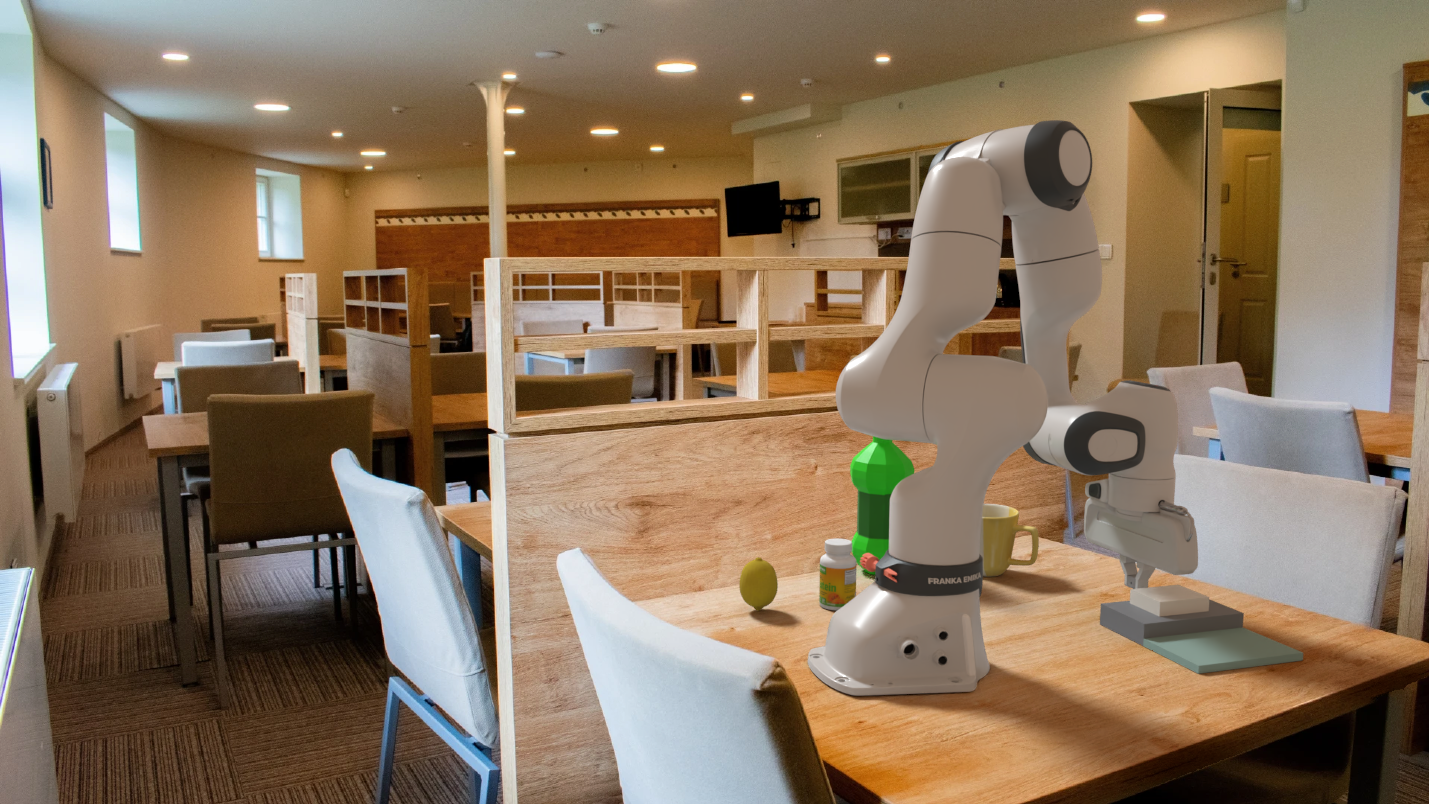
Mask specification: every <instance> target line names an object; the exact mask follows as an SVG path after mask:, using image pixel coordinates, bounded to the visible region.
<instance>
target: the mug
mask: <svg viewBox="0 0 1429 804" xmlns="http://www.w3.org/2000/svg"><path fill="white" fill-rule="evenodd" d="M1019 517H1020V511H1019V510H1018V509H1016V508H1014V507H1011V506H1007V505H1005V504H1004V505H1003V504H997V503H984V504H983V512H982V521H981V533H980V555H981V556H982V558H983V577H997V576H998V577H999V576H1001V575H1003V574H1004V573H1005V572H1006V571H1007V570H1008V568H1009V567H1010V566H1025V567H1026V566H1032V565H1034V564H1035V563H1036V561H1037V559H1038V553H1039V548H1040V547H1039V543H1040V542H1039V539H1040V538H1039V531H1038V529H1037V527H1035V526H1029V525H1023V524H1022V525H1021V524H1018V523H1019V519H1020V518H1019ZM1019 532H1026V533H1027V532H1029V533H1030V535H1031V548H1032V549H1031V556H1030V559H1027V560H1026V559H1025V560H1024V559H1016V558H1012V556H1013V550H1014V545H1015V541H1016V540H1015V539H1016V535H1017V533H1019Z"/></svg>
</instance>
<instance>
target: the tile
mask: <svg viewBox="0 0 1429 804" xmlns="http://www.w3.org/2000/svg"><path fill="white" fill-rule="evenodd" d="M1129 591H1130V592H1129V593H1130V594H1129V601H1130V604H1133V605H1135V606H1137V607H1139V608H1142V609H1144V610H1146V611H1148V612H1150V613H1153V614H1155V615H1157V616H1159V617H1160V616H1169V615H1178V614H1188V613H1197V612H1206V611H1209V599H1210V596H1208V595H1206V594H1202V593H1200V592H1198V591H1195V590H1193V589H1190V588H1188V587H1185V586H1183V585H1180V584H1171V585H1162V586H1161V585H1159V586H1150V587H1149V586H1148V588H1139V589H1133V588H1130V589H1129Z"/></svg>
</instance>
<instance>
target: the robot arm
mask: <svg viewBox="0 0 1429 804" xmlns="http://www.w3.org/2000/svg"><path fill="white" fill-rule="evenodd" d="M1092 171H1093V154H1092V150H1091V146H1090V143H1089V141H1088V138H1087V137H1086V135H1085V134H1084V132H1083V131H1082V130H1080V129H1079V128H1078V127H1077V126H1076V125H1075V124H1074V123H1072V122H1071V121H1068V120H1060V119H1059V120H1058V119H1055V120H1042V121H1038V122H1036V123H1035V124H1029V125H1021V126H1020V125H1019V126H1015V127H1009V128H1006V129H1003V128H1000V129H995V130H992V131H989V132H986V133H982V134H980V135H977V136H974V137H971V138H970V139H969V138H968V139H967V140H964V141H963V140H959V141H956V142H953V143H952V144H949V145H947V146H946V147H945V148H943V149H941V150H940V151H939V152H938V153H936V155H935V156H934V158H932V161H931V163H930V166H929V168H928V172H927V175H926V177H925V180H924V183H923V186H922V189H921V192H920V196H919V199H918V203H917V206H916V211H915V214H914V215H915V216H914V219H913V220H914V221H913V225H912V231H911V236H910V237H911V239H910V247H909V252H908V254H909V255H908V259H907V260H908V261H907V268H906V273H905V278H904V284H903V288H902V292H901V297H900V301H899V303H898V305H897V308H896V311H895V313H894V315H893V316H892V318H891V320H890V322H889V323H888V325H887V327H886V328H885V329H884V330H883V332H882V333H881V334H880V336H878V338H877V339H876V340H875V341H874V342H873V343H872V344H870V346H869V347H867V348H866V349H865V350H864V351H862V352H860V353H859V354H858V355H856V356H854V357H853V358H852V359H850V361H849V362H848V363H847V364H846V365H845V366H844V368H843V369H842V371H841V373H839V377H838V380H837V382H836V386H835V403H836V407H837V411H838V413H839V416H840V418H841V420H842V421H843V422H844V424H845V425H846V427H848V428H849V429H850V430H851V431H854V432H858V433H861V434H864V435H866V436H870V437H873V436H874V437H877V438H881V439H886V440H892V441H901V442H911V443H925V444H927V443H928V444H933V445H936V447H937V451H936V457H935V461H934V462H933V465H932V466H930V467H927V468H923V469H921V470H918V471H916V472H914V474H912V475H910V476H908V477H906V478H904V479H903V480H902V481H900V482H899V483H898V484H897V485H896V487H895V488H894V490H893V492H892V494H891V497H890V513H889V549H888V550H887V551H886V553H885V555H884V556H883V557H882V558H881V559H880V560H879V559H878V558H877V557H875V556H874V555H872V554H870V553H865V554H863V555H862V556H864V557H861V558H860V559H861V560H860V562H861V564H860V565H862V567H863V568H865V569H867V570H868V571H870V572H874V571H875V575H874V576H875V577H874V580H873V582H871V584H870V585H868V586H866V587H865V588H864V589H863V590H861V592H860V593H858V594H856V597H854V598H853V599H852V600H851V601H849V602H848V603H847V604H845V605H844V606H843V607H842V608H840V609H839V610H837V611H835V612H833V614H832V616H831V619H830V621H829V624H828V628H827V633H826V639H825V645H823V646H819V647H814V648H811V649H809V652H808V654H807V655H808V656H807V665H808V667H809V669H810V670H811V672H812V673H813V674H814V675H815V676H816V677H817V678H818V679H819V680H821V681H822V682H823V683H824V684H826V685H827V686H829V687H830V688H832V689H835V690H836V691H839V692H841V693H844V694H847V695H849V696H850V695H851V696H884V695H907V694H908V695H909V694H913V695H915V694H939V693H940V694H941V693H962V692H963V693H964V692H973V691H975V690H976V689H977V687H978V682H979V681H980V679H982V678H984V677H985V676H986V675H987V674H989V673H990V669H991V665H990V663H989V659H988V655H987V652H986V646H985V642H984V636H983V628H982V626H983V625H982V618H981V605H980V597H981V596H982V591H983V590H982V589H983V580H984V576H983V558H982V556H981V555H980V533H981V521H982V512H983V504H985V499H986V494H987V490H988V487H989V486H990V483H991V481H992V479H993V477H994V475H995V473H996V472H997V471H998V469H999V468H1000V466H1001V465H1002V464H1003V463H1004V462H1005V460H1007V459H1008V458H1009V457H1010V456H1011V455H1012V454H1014V453H1015V452H1016V451H1017V450H1019V449H1020V448H1021V447H1022V448H1023V449H1024V450H1025V452H1026V453H1027V455H1028V456H1029V457H1031V459H1033V460H1034V461H1037V462H1039V463H1041V464H1045V465H1049V466H1056V467H1059V468H1062V469H1065V470H1067V471H1070V472H1074V473H1077V474H1080V475H1084V476H1101V475H1106V474H1107V475H1108V478H1103V479H1100V480H1095V481H1094V480H1093V481H1089V482H1087V483H1086V484H1085V489H1084V490H1085V491H1084V492H1085V496H1087V498H1088V499H1087V500H1086V501H1085V505H1084V517H1083V520H1084V521H1083V533H1084V536H1085V538H1086V541H1087V542H1088V543H1090V544H1092V545H1095V546H1097V547H1101V548H1103V549H1105V550H1108V551H1111V552H1114V553H1116V554H1118V555H1119V564H1120V567H1121V569H1122V571H1123V572H1122V573H1123V574H1124V586H1125V587H1128V588H1130V589H1139V588H1149V580H1150V578H1151V576H1152V575H1153V574H1154V572H1155V570H1156V569H1157V570H1161V571H1162V572H1164V573H1165V572H1166V573H1168V574H1171V575H1173V576H1182V575H1183V576H1184V575H1191V574H1193V573H1195V572H1196V570H1197V569H1198V567H1199V566H1198V565H1199V547H1198V534H1197V533H1198V532H1197V527H1196V526H1195V519H1194V517H1193V516H1192V514H1191V513H1190V512H1189V511H1188V508H1186V507H1185V506H1182V505H1176V504H1175V493H1176V477H1177V475H1176V469H1175V465H1174V457H1175V453H1176V450H1177V448H1178V442H1179V441H1178V440H1179V416H1178V415H1179V413H1178V405H1177V404H1178V403H1177V400H1176V396H1175V394H1174V392H1172V390H1170V389H1169V388H1167V387H1165V386H1162V385H1159V384H1153V383H1148V382H1147V383H1146V382H1141V381H1135V380H1130V379H1129V380H1123V381H1122V380H1121V381H1119V382H1118V384H1117V385H1116V386H1115V387H1114V388H1113V389H1111V390H1109V392H1107V393H1106V394H1104V395H1102V396H1100V397H1098V398H1096V399H1093V400H1091V401H1087V402H1086V403H1084V404H1083V403H1079V402H1078V401H1077V400H1076V399H1075V398H1074V396H1073V394H1072V393H1071V390H1070V389H1071V388H1070V383H1069V382H1070V379H1069V367H1068V365H1069V364H1068V354H1067V352H1068V351H1067V339H1068V334H1069V333H1070V330H1071V328H1072V327H1073V326H1074V324H1075V323H1076V322H1077V321H1078V320H1080V319H1081V318H1082V317H1083V316H1085V315H1086V314H1088V312H1090V310H1091V309H1092V308H1093V307H1094V306H1095V305H1096V304H1097V301H1098V300H1099V298H1100V296H1101V294H1102V284H1103V268H1102V267H1103V266H1102V260H1101V259H1102V258H1101V252H1100V249H1099V248H1100V246H1099V241H1098V236H1097V231H1096V227H1095V223H1094V220H1093V215H1092V212H1091V209H1090V205H1089V203H1088V200H1087V197H1086V195H1085V191H1087V187H1088V186H1089V183H1090V179H1091V176H1092ZM1004 216H1008V217H1009V218H1010V220H1011V236H1012V237H1011V238H1012V249H1013V258H1014V263H1015V272H1016V277H1017V284H1018V292H1019V294H1018V295H1019V300H1020V308H1019V309H1020V311H1019V315H1020V316H1019V318H1020V319H1019V328H1020V329H1019V330H1020V331H1019V333H1020V334H1019V335H1020V346H1021V359H1022V360H1021V361H1022V362H1021V361H1016V360H1012V359H1008V358H1004V357H999V356H994V355H977V354H976V355H973V354H972V355H971V354H949V353H948V354H946V353H944V351H945V349H946V347H947V345H948V344H949V342H950V341H951V340H952V339H953V338H954V337H955V336H956V335H958V334H960V332H962V331H965V330H966V329H969V328H971V327H973V326H976V325H978V324H979V323H980V322H982V321H983V320H985V318H987V316H988V315H990V312H991V311H992V310H993V308H994V306H995V303H996V299H997V292H998V290H997V289H998V282H999V274H1000V273H999V272H1000V264H1001V262H1000V261H1001V255H1002V245H1003V235H1004V234H1003V232H1004V230H1003V229H1004Z"/></svg>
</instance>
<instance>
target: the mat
mask: <svg viewBox="0 0 1429 804" xmlns="http://www.w3.org/2000/svg"><path fill="white" fill-rule="evenodd" d="M1142 647H1144V648H1146V649H1149V650H1151V651H1152V650H1153V651H1152V652H1154V653H1156V654H1158V655H1160V656H1163V657H1164V658H1166V659H1168V660H1170V661H1172V662H1174V663H1177V664H1178V665H1180V666H1182V667H1184V668H1186V669H1188V670H1189V671H1193V672H1194V673H1195V674H1198V675H1200V674H1205V673H1213V672H1214V673H1215V672H1222V671H1229V670H1230V671H1231V670H1238V669H1245V668H1246V669H1247V668H1253V667H1260V666H1267V665H1268V666H1269V665H1278V664H1284V663H1292V662H1293V663H1294V662H1301V661H1303V660H1304V652H1302V651H1300V650H1298V649H1296V648H1293V647H1291V646H1288V645H1285V644H1284V643H1281V642H1278V641H1276V640H1274V639H1272V638H1269V637H1267V636H1264V635H1262V634H1260V633H1257V632H1255V631H1253V630H1250V629H1247V628H1245V627H1244V626H1243V627H1242V628H1233V629H1224V630H1215V631H1207V632H1198V633H1189V634H1181V635H1172V636H1163V637H1154V638H1146V639H1144V640H1143V646H1142Z"/></svg>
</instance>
